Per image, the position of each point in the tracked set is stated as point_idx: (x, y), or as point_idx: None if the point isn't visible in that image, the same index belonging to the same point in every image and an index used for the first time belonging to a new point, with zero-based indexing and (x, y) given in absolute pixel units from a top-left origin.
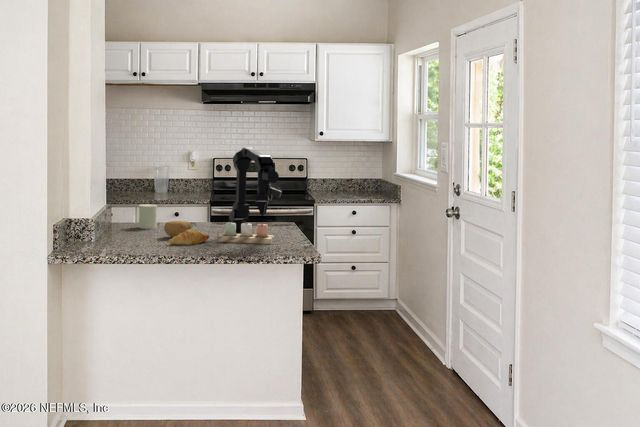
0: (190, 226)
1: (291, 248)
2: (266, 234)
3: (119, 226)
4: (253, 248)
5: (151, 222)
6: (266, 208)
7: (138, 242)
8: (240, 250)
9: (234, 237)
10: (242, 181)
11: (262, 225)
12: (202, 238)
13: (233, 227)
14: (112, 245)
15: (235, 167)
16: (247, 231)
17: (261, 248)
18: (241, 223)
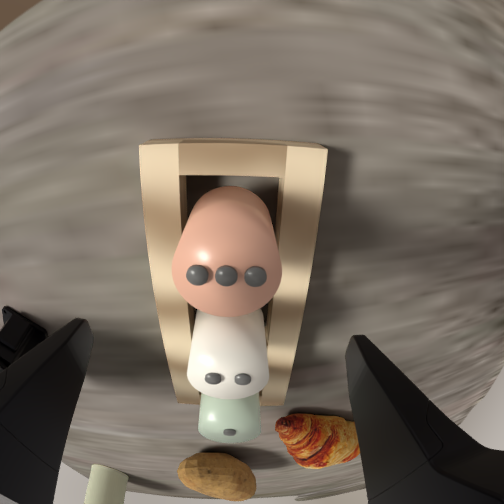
0: (203, 471)
1: (445, 37)
2: (250, 196)
3: (128, 488)
4: (454, 238)
5: (117, 482)
6: (44, 370)
7: (316, 473)
8: (480, 281)
9: (293, 357)
10: None
11: (281, 268)
12: (327, 424)
13: (253, 405)
14: (352, 477)
15: None
16: (264, 333)
17: (457, 200)
18: (16, 358)
